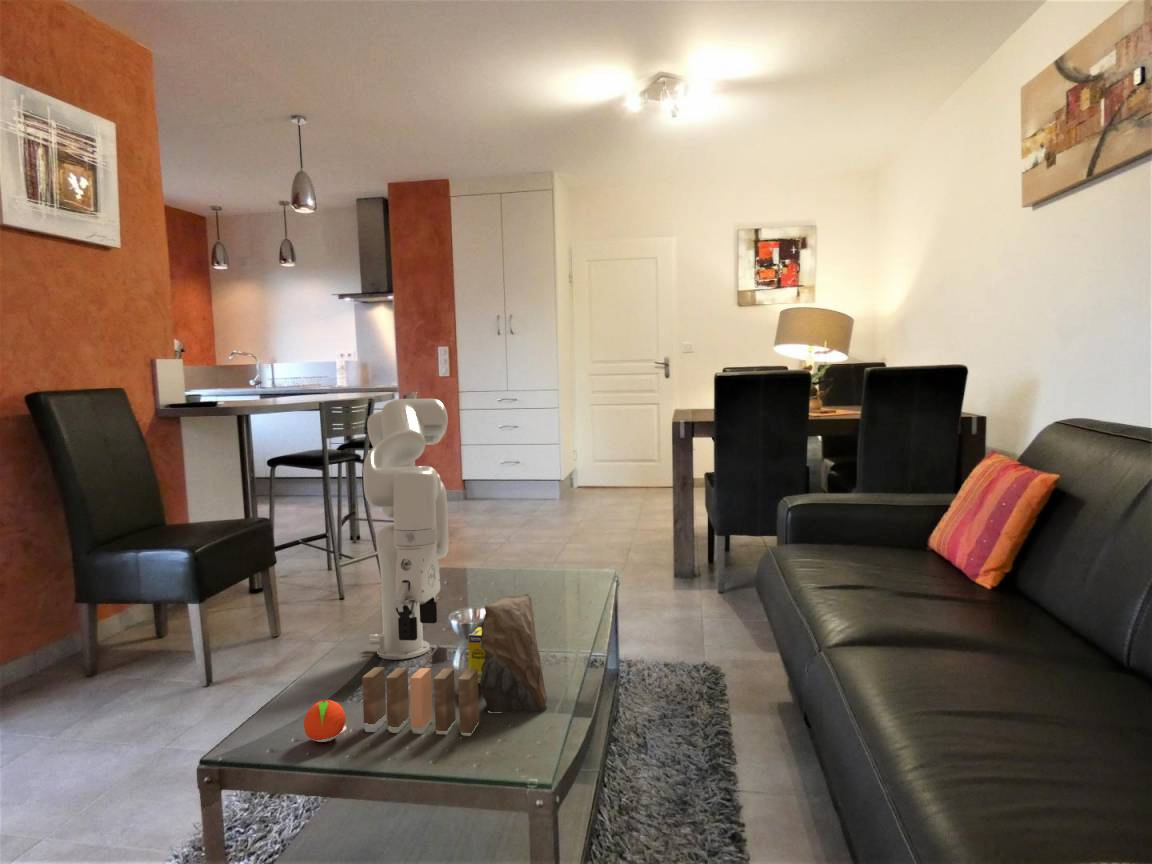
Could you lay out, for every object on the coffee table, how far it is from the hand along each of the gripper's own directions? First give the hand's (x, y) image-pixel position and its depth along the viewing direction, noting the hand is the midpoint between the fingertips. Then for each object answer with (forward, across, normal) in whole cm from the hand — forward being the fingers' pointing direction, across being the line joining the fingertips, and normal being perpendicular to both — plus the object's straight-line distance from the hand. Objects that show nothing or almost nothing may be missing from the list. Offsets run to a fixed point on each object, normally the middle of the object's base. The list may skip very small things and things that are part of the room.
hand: (418, 630), depth 121 cm
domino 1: (+18, -1, +9) cm, 20 cm away
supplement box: (+18, +22, -6) cm, 29 cm away
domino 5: (+18, -1, -9) cm, 20 cm away
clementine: (+18, -7, +15) cm, 24 cm away
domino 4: (+18, -1, -5) cm, 18 cm away
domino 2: (+18, -1, +4) cm, 18 cm away
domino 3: (+18, -1, 0) cm, 18 cm away
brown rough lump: (+18, +11, -15) cm, 26 cm away
